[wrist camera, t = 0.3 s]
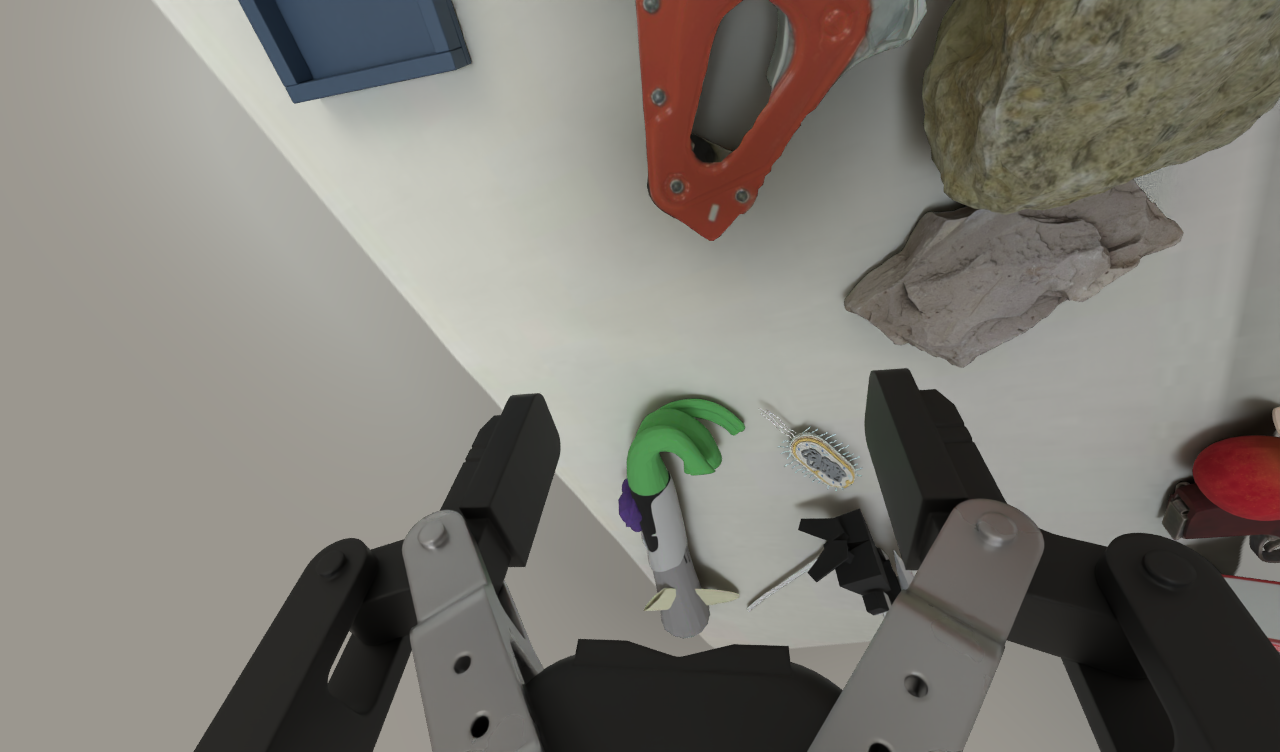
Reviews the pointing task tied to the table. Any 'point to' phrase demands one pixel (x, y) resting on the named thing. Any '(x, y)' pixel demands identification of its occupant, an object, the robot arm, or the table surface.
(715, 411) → the toy
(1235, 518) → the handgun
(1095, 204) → the stone
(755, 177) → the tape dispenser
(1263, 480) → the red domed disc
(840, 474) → the bacterium model
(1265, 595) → the ink box
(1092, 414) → the table surface
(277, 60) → the tray
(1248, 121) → the rock
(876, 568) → the toy
